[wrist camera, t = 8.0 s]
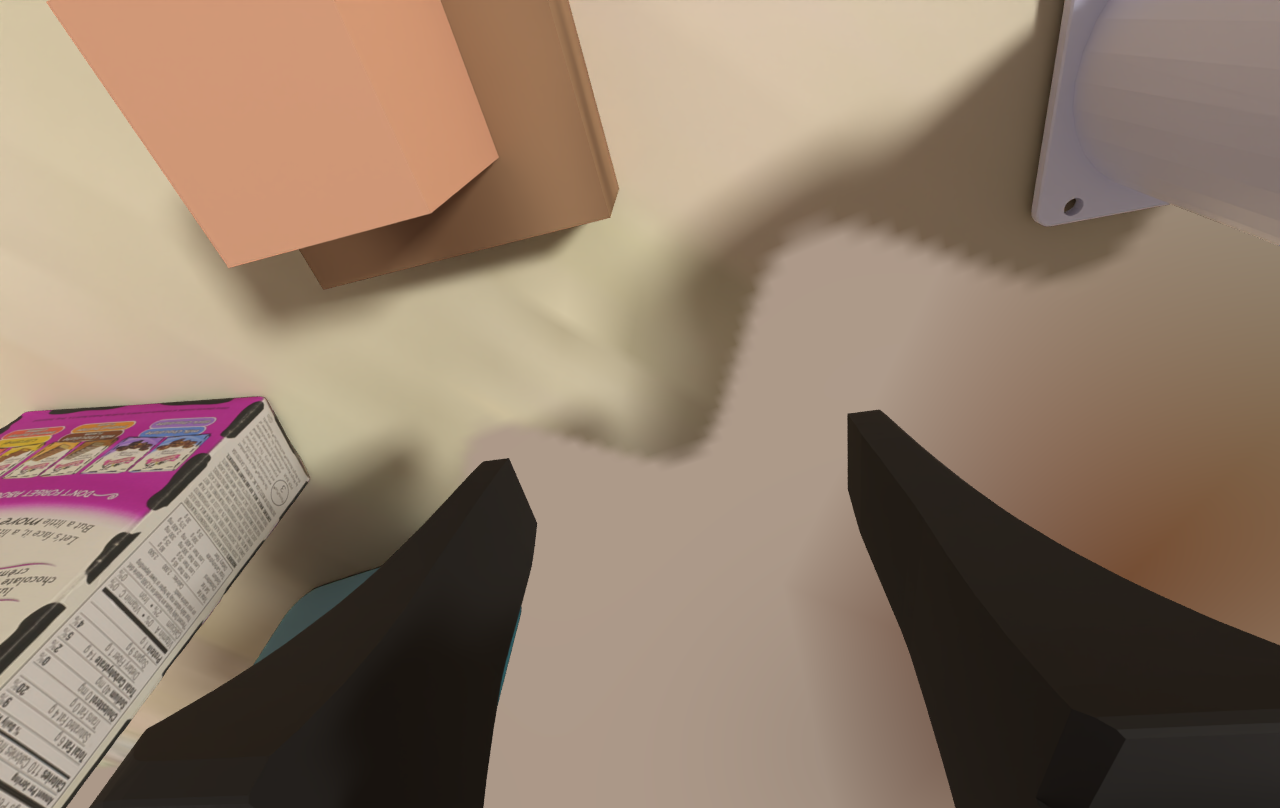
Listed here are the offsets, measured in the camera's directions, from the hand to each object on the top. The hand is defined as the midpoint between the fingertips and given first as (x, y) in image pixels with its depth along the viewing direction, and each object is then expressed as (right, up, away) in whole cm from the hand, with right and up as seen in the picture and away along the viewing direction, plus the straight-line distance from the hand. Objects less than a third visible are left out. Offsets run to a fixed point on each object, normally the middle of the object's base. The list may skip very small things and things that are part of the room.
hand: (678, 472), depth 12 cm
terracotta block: (-7, +9, +2) cm, 12 cm away
